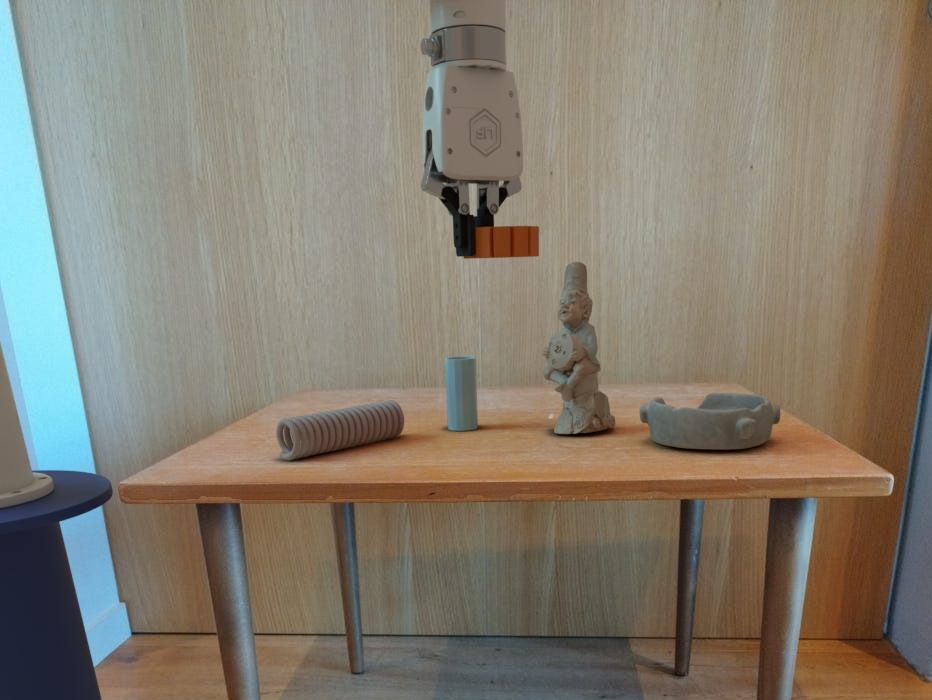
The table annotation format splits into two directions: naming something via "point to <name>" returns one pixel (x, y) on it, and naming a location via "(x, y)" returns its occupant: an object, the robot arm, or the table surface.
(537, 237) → the ring
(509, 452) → the table surface
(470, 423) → the tumbler
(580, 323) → the figurine
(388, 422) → the coil
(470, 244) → the robot arm
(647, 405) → the dish
